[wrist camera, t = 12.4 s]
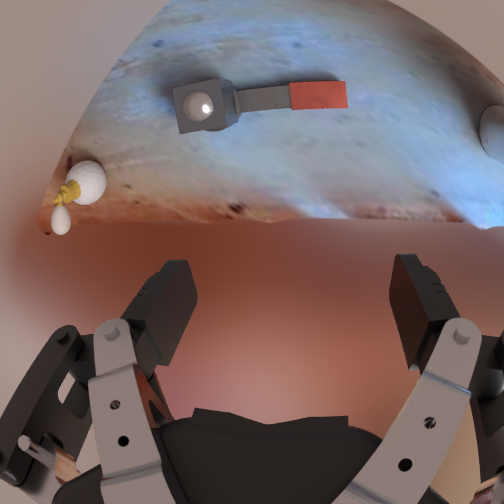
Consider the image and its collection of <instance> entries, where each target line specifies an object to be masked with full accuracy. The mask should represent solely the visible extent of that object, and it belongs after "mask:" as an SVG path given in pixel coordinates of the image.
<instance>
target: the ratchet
mask: <svg viewBox="0 0 504 504" xmlns="http://www.w3.org/2000/svg"><path fill="white" fill-rule="evenodd" d="M233 90H234V97H235V104H236V111H237V118H238V119H239V118H240V116H241V114H242V113H243V112H251V111H260V110H270V109H281V108H292V110H300V109H323V108H348V105H347V94H346V85H345V81H317V82H296V83H289V85H287V86H276V87H266V88H257V89H249V90H242V91H238V90H237V89H236V88H235V87H234V86H233ZM232 125H233V124H231V125H229V126H225V127H219V128H212V129H206V131H220V130H223V129H225V128H228V127H230V126H232Z"/></svg>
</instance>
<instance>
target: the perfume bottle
mask: <svg viewBox="0 0 504 504" xmlns="http://www.w3.org/2000/svg"><path fill="white" fill-rule="evenodd" d="M106 183H107V182H106V174H105V172H104V170H103V168H102V167H101V166H100V165H99V164H98V163H96V162H94V161H89V160H87V161H82V162H79V163H77V164H76V165H74V166H73V167H72V168H71V170H70V171H69V173H68V175H67V178H66V184H65V185H63V186H62V187H61V188H60V190H59V193H58V194H57V196H56V197H55V198H54V200H53V202H55V203H57V202H59V203H58V205H57V206H56V207H55V208H54V210H53V213H52V217H51V226H52V229H53V230H54V232H55V233H57V234H60V235H62V234H65V233H66V232H67V231H68V230H69V228H70V225H71V219H70V214H69V212H68V210H67V208H66V207H65V206H64V205H63V204H62V203H61V202H62V201H64V202H65V203H69V202H70V201H72V200H73V201H74V202H76V203H78V204H82V205H85V204H91V203H93V202H95V201H96V200H98V199H99V198H100V197H101V196H102V194H103V193H104V190H105V188H106Z"/></svg>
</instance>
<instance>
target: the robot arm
mask: <svg viewBox="0 0 504 504" xmlns="http://www.w3.org/2000/svg"><path fill="white" fill-rule="evenodd" d="M479 133H480V139H481V143H482V146H483V148H484V150H485V151H486V153H487V154H488V155H489V156H490V157H491V158H493V159H495V160H497V161H499V162H501V163H503V164H504V107H503V106H498V105H492V106H490V107H488V108H487V109H486V110H485V111H484V112H483V114H482V116H481V120H480V126H479ZM389 301H390V305H391V308H392V311H393V315H394V318H395V321H396V324H397V328H398V331H399V335H400V338H401V342H402V346H403V350H404V353H405V357H406V361H407V365H408V369H409V371H410V370H417V369H419V370H420V374H421V376H420V378H419V379H418V381H417V383H416V385H415V387H414V389H413V390H412V392H411V394H410V396H409V398H408V399H407V401H406V403H405V405H404V406H403V408H402V409H401V411H400V413H399V414H398V416H397V418H396V419H395V421H394V422H393V424H392V425H391V427H390V428H389V430H388V431H387V433H386V434H385V435H384V437H383V438H382V439H381V438H380V437H378V436H376V435H375V434H373V433H371V432H369V431H367V430H364V429H361V428H358V427H355V426H349V425H348V416H335V417H334V416H333V417H307V418H302V419H298V420H293V421H287V422H282V423H276V424H263V423H260V422H256V421H253V420H250V419H247V418H244V417H241V416H238V415H235V414H232V413H229V412H221V411H213V410H206V409H199V408H195V409H194V412H193V415H192V417H188V418H182V419H178V420H175V419H174V417H173V416H172V414H171V412H170V410H169V407H168V404H167V402H166V399H165V396H164V394H163V391H162V388H161V385H160V382H159V379H158V377H157V374H156V372H155V368H156V365H163V366H169V364H170V361H171V359H172V357H173V355H174V353H175V350H176V348H177V346H178V344H179V342H180V339H181V337H182V335H183V333H184V330H185V328H186V326H187V324H188V322H189V320H190V318H191V315H192V313H193V311H194V309H195V307H196V304H197V289H196V286H195V283H194V279H193V276H192V272H191V269H190V266H189V263H188V261H187V260H168V261H167V262H166V263H165V264H164V266H163V267H162V269H161V270H160V271H159V272H157V273H155V274H154V275H153V276H151V277H150V278H149V279H148V280H147V281H146V282H145V284H144V285H143V286H142V289H140V291H139V292H138V293H137V296H135V298H134V299H133V300H132V302H131V303H130V305H129V306H128V308H127V309H126V310H125V312H124V313H123V315H122V316H121V318H120V319H119V318H118V319H111V320H109V321H106V322H104V323H103V324H102V325H100V326H99V327H98V328H97V330H96V331H95V333H94V334H89V335H80V333H79V332H78V330H77V329H76V327H75V326H73V325H66V326H63V327H61V328H59V329H58V330H56V331H55V332H54V333H53V334H52V336H51V337H50V338H49V340H48V341H47V343H46V344H45V346H44V347H43V348H42V350H41V352H40V353H39V354H38V356H37V357H36V359H35V360H34V362H33V363H32V365H31V367H30V368H29V370H28V371H27V373H26V374H25V376H24V378H23V379H22V381H21V383H20V384H19V386H18V388H17V389H16V391H15V393H14V394H13V396H12V398H11V400H10V401H9V403H8V405H7V407H6V409H5V411H4V413H3V415H2V416H1V418H0V479H2V480H4V481H5V482H7V483H8V484H9V485H11V486H12V487H14V488H16V489H18V490H20V491H22V492H24V493H25V494H27V495H28V496H29V497H31V498H32V499H33V500H35V501H36V502H37V503H39V504H449V503H448V502H447V501H446V500H445V499H444V498H443V497H442V496H441V495H439V494H438V493H437V492H436V491H435V490H434V489H433V488H432V487H431V486H430V483H431V481H432V479H433V478H434V476H435V474H436V473H437V471H438V469H439V467H440V465H441V463H442V462H443V460H444V458H445V456H446V454H447V452H448V450H449V448H450V446H451V444H452V442H453V439H454V437H455V435H456V433H457V430H458V428H459V426H460V423H461V421H462V418H463V416H464V413H465V411H466V408H467V405H468V403H469V401H470V406H471V411H472V416H473V421H474V426H475V432H476V439H477V446H478V453H479V463H480V475H481V476H480V477H481V485H480V486H479V487H478V489H477V491H476V492H475V494H474V497H473V499H472V500H471V502H470V504H504V330H503V332H502V334H501V336H500V337H493V336H485V335H481V332H480V330H479V329H478V327H477V326H476V325H475V324H474V323H472V322H471V321H469V320H467V319H464V318H461V317H460V316H459V313H458V311H457V309H456V308H455V306H454V304H453V302H452V300H451V298H450V296H449V294H448V293H447V292H446V289H445V287H444V285H442V282H441V280H440V278H439V277H438V275H437V274H436V273H435V272H434V271H433V270H432V269H430V268H429V267H428V266H422V264H421V262H420V260H419V259H418V257H417V255H416V254H397V255H396V256H395V259H394V265H393V271H392V277H391V283H390V288H389ZM68 372H69V373H70V374H71V375H72V377H73V378H74V379H75V382H74V384H73V386H72V387H71V389H70V392H69V393H68V395H67V397H66V399H65V401H64V403H63V404H62V403H61V402H60V401H59V399H58V390H59V387H60V386H61V384H62V382H63V380H64V379H65V377H66V375H67V373H68ZM92 422H93V427H94V433H95V439H96V444H97V449H98V453H99V458H100V463H101V464H99V465H97V466H96V467H94V468H92V469H90V470H88V471H87V472H85V473H83V474H81V473H80V471H79V470H77V469H76V460H77V458H78V456H79V453H80V451H81V448H82V445H83V443H84V441H85V438H86V436H87V434H88V431H89V429H90V427H91V424H92Z"/></svg>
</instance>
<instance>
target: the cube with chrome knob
mask: <svg viewBox="0 0 504 504" xmlns="http://www.w3.org/2000/svg"><path fill="white" fill-rule="evenodd" d="M172 92H173V98H174V104H175V110H176V116H177V121H178V127H179V133H180V134H184V133H189V132H194V131H200V130H206V129H212V128H219V127H225V126H229V125H231V124H234V123H237V122H238V118H237V111H236V104H235V97H234V90H233V83H232V81H229V80H225V79H221V78H218V79H212V80H207V81H203V82H198V83H193V84H189V85H185V86H181V87H177V88H173V89H172Z"/></svg>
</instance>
